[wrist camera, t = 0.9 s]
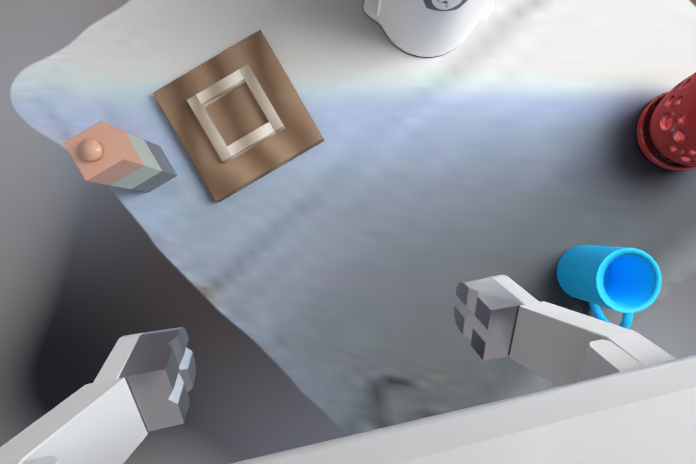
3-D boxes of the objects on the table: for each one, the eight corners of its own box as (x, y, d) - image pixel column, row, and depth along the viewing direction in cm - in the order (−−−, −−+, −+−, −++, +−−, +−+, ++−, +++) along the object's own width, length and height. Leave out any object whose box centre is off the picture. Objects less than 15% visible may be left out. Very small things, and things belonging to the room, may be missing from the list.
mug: (551, 250, 51) (590, 254, 42) (606, 240, 51) (655, 242, 42) (566, 329, 51) (607, 348, 43) (620, 319, 51) (672, 336, 43)
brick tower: (160, 146, 51) (96, 118, 38) (176, 175, 51) (118, 157, 38) (131, 163, 51) (57, 141, 38) (148, 192, 51) (80, 180, 38)
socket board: (263, 35, 50) (258, 24, 48) (323, 140, 51) (322, 135, 48) (158, 97, 51) (147, 89, 48) (219, 201, 51) (212, 200, 48)
